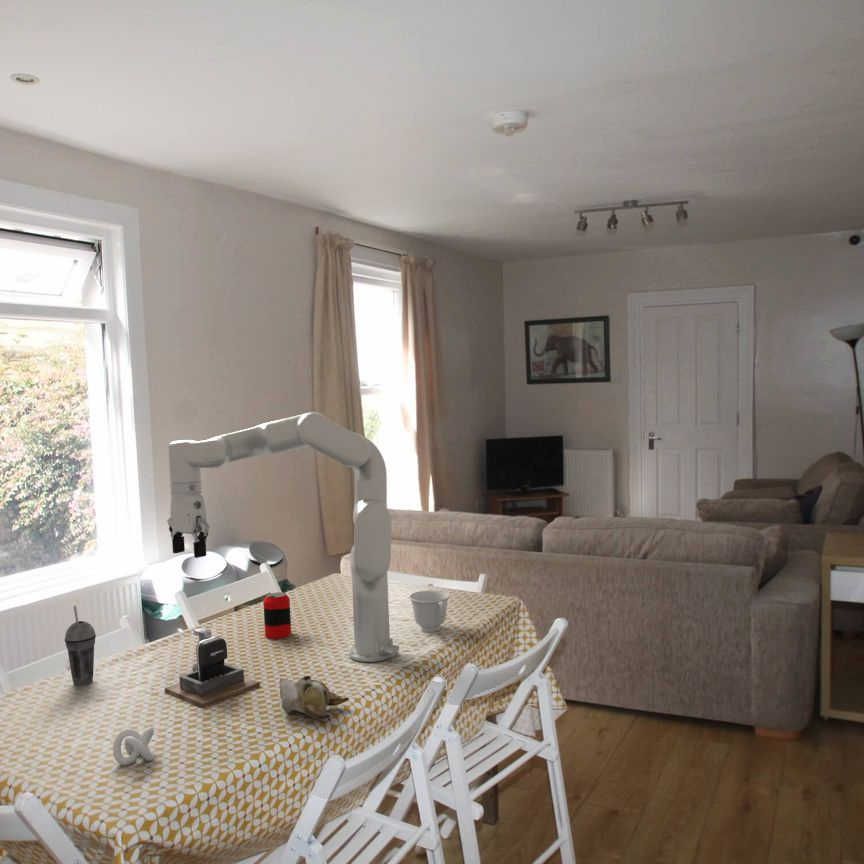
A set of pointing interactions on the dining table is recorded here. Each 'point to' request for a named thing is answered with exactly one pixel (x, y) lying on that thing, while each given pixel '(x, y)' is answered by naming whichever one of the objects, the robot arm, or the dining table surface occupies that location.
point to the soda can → (277, 615)
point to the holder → (212, 687)
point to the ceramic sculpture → (308, 697)
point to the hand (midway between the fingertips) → (189, 554)
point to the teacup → (429, 609)
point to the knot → (133, 745)
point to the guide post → (202, 635)
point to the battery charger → (211, 658)
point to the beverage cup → (81, 651)
